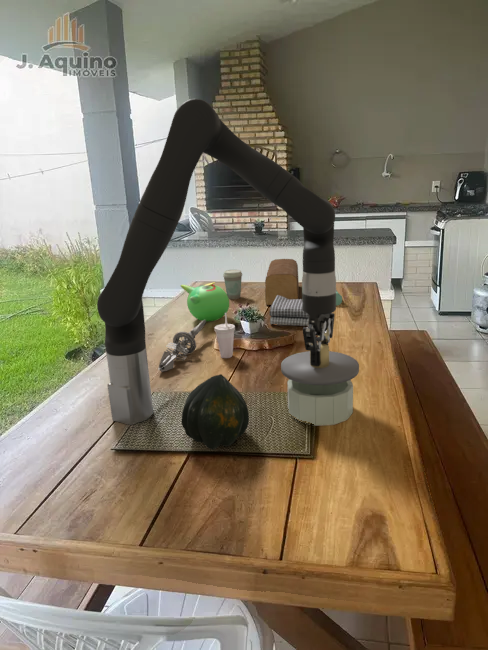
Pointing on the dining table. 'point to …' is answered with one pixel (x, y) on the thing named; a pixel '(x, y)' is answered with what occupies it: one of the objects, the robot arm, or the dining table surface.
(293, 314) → the towel
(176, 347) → the spaceship
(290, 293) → the bread
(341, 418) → the bowl
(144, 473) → the dining table surface
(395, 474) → the dining table surface
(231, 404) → the squash
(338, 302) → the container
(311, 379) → the lid
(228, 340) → the smoothie
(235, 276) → the coffee cup
